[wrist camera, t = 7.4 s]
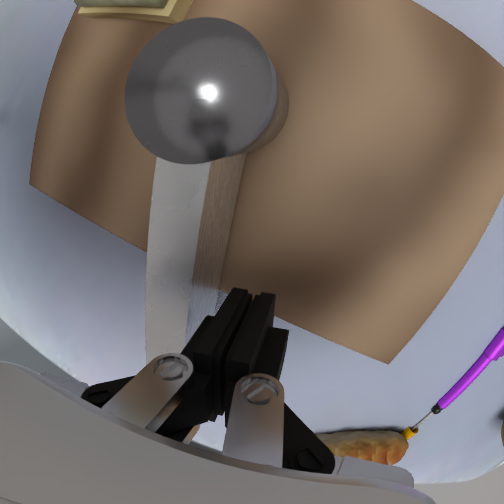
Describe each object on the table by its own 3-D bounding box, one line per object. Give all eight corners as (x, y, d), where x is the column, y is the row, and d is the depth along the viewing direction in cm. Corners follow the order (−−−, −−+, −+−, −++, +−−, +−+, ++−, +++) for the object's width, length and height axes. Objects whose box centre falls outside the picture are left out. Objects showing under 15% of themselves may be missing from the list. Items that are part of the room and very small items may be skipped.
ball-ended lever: (200, 52, 9) (142, 19, 5) (299, 66, 9) (288, 24, 5) (161, 324, 15) (120, 377, 11) (230, 349, 15) (203, 413, 11)
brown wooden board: (50, 177, 16) (-3, 195, 12) (126, -40, 9) (81, -65, 5) (383, 341, 15) (395, 403, 11) (514, 101, 8) (570, 99, 4)
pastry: (406, 413, 17) (412, 452, 14) (405, 449, 19) (409, 481, 16) (293, 433, 20) (286, 471, 17) (311, 465, 22) (307, 496, 19)
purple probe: (504, 319, 13) (376, 447, 20) (513, 330, 12) (378, 457, 19) (516, 323, 14) (395, 445, 20) (524, 333, 12) (398, 454, 19)
